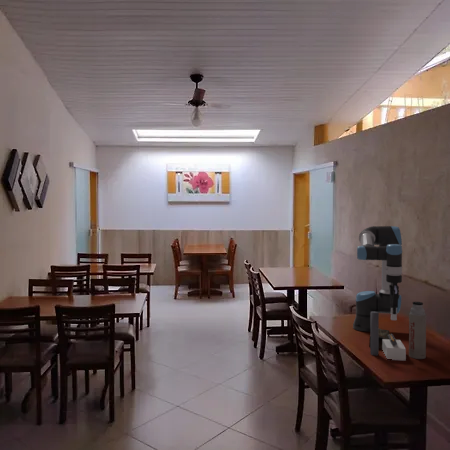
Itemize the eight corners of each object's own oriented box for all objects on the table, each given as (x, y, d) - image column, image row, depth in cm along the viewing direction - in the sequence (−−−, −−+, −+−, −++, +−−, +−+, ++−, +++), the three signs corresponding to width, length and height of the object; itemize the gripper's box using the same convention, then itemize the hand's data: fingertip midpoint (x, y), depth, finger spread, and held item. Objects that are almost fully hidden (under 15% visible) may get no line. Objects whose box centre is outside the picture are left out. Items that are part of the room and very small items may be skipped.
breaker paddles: (389, 340, 238) (387, 334, 238) (393, 338, 237) (391, 333, 237) (392, 345, 228) (390, 340, 228) (397, 344, 228) (395, 338, 228)
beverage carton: (389, 340, 259) (389, 329, 259) (383, 349, 243) (384, 337, 242) (375, 338, 263) (375, 327, 263) (368, 347, 246) (368, 335, 246)
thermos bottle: (413, 359, 226) (414, 304, 225) (406, 354, 234) (406, 300, 233) (428, 358, 227) (429, 303, 226) (420, 353, 235) (421, 300, 234)
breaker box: (382, 350, 241) (382, 339, 241) (400, 351, 239) (400, 339, 239) (386, 359, 226) (386, 347, 226) (405, 360, 225) (405, 348, 224)
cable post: (370, 352, 237) (370, 311, 236) (377, 353, 236) (378, 311, 236) (371, 355, 233) (371, 313, 232) (379, 355, 232) (379, 313, 232)
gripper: (384, 272, 238) (384, 316, 239) (388, 276, 226) (388, 322, 227) (399, 272, 237) (399, 316, 238) (404, 276, 224) (403, 323, 225)
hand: (393, 319), depth 232 cm, fingers closed
